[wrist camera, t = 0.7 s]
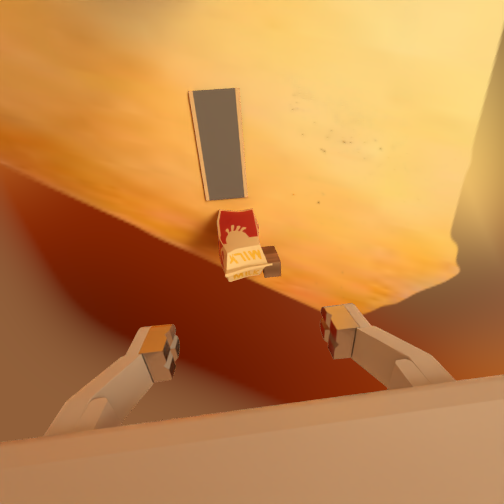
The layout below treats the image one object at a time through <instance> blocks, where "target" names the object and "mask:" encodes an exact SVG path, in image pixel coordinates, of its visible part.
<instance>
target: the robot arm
mask: <svg viewBox="0 0 504 504" xmlns="http://www.w3.org/2000/svg"><path fill="white" fill-rule="evenodd" d="M321 315H322V317H323V318H322V319H321V320H320V329H321V334H322V336H323V338H324V340H325V341H326V342H328V349H329V351H330V353H331V355H332V357H333V359H342V358H352V359H353V360H354V361H355V362H357V363H358V364H359V365H360V366H362V367H363V368H364V369H365V370H366V371H368V372H369V373H370V374H371V375H373V376H374V377H375V378H376V379H378V380H379V381H380V382H381V383H382V384H384V385H385V386H386V387H387V388H388V389H387V390H385V391H377V392H370V393H362V394H355V395H348V396H340V397H333V398H325V399H318V400H311V401H303V402H296V403H288V404H281V405H274V406H266V407H259V408H251V409H244V410H236V411H229V412H221V413H214V414H206V415H199V416H191V417H184V418H176V419H169V420H161V421H154V422H146V423H139V424H132V425H125V426H122V424H121V423H122V422H123V421H124V419H125V418H126V417H127V416H128V414H129V413H130V412H131V411H132V409H133V408H134V407H135V406H136V405H137V403H138V402H139V401H140V400H141V398H142V397H143V396H144V395H145V393H146V392H147V391H148V390H149V388H150V387H151V386H152V385H153V383H154V382H160V381H167V380H172V379H173V376H174V372H175V368H176V365H175V360H176V359H177V358H178V356H179V350H180V344H179V339H178V337H177V336H176V335H175V332H176V329H175V326H174V325H173V324H172V325H171V324H170V325H159V326H152V327H141V328H140V329H139V330H138V332H137V334H136V336H135V338H134V340H133V342H132V344H131V346H130V348H129V350H128V351H127V353H126V356H122V357H121V358H119V359H118V360H117V361H116V362H114V363H113V364H112V365H111V366H109V367H108V368H107V369H106V370H105V371H103V372H102V373H101V374H99V375H98V376H97V377H96V378H94V379H93V380H92V381H91V382H89V383H88V384H87V385H86V386H85V387H83V388H82V389H81V390H80V391H79V392H77V393H76V394H75V395H73V396H72V397H71V398H70V399H69V400H67V401H66V402H65V404H64V406H63V407H62V408H61V410H60V412H59V413H58V415H57V416H56V418H55V419H54V421H53V422H52V424H51V425H50V427H49V428H48V430H47V431H46V433H45V435H44V436H42V437H35V438H27V439H20V440H13V441H5V442H0V504H504V375H497V376H490V377H482V378H475V379H467V380H460V381H456V380H455V379H454V378H453V377H452V376H451V375H450V374H449V373H448V372H447V371H446V370H445V369H444V368H443V367H442V366H441V365H440V364H439V363H438V362H437V360H436V359H435V358H434V357H432V355H430V354H428V353H426V352H424V351H422V350H420V349H418V348H416V347H415V346H413V345H411V344H409V343H407V342H405V341H403V340H401V339H399V338H397V337H395V336H393V335H391V334H389V333H387V332H385V331H383V330H381V329H380V328H378V327H376V326H371V325H370V324H369V322H368V321H367V320H366V319H365V317H364V316H363V315H362V314H361V312H360V311H359V310H358V309H357V307H356V306H355V305H354V304H353V303H349V304H342V305H335V306H327V307H322V308H321Z"/></svg>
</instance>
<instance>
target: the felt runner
mask: <svg viewBox="0 0 504 504" xmlns="http://www.w3.org/2000/svg"><path fill="white" fill-rule="evenodd" d="M188 92H189V98H190V104H191V110H192V116H193V122H194V129H195V135H196V141H197V147H198V153H199V159H200V165H201V172H202V178H203V184H204V190H205V196H206V201H209V200H220V199H231V198H242V197H248V194H247V181H246V168H245V156H244V143H243V131H242V118H241V106H240V93H239V88H230V89H215V90H201V91H188Z"/></svg>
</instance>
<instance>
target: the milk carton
mask: <svg viewBox="0 0 504 504" xmlns="http://www.w3.org/2000/svg"><path fill="white" fill-rule="evenodd" d="M217 230H218V244H219V256H220V260H221V265H222V268H223V270H224V272H225V276H226V277H227V279H228V281H229V282H231V281H235V280H238V279H241V278H244V277H248V276H254V275H260V273H261V272H262V270H263V269H264V268H265V267H266V266H271V265H272V263H267V260H266V258H265V256H264V253H263V251H262V248H261V246H260V242H259V225H258V222H257V219H256V216H255V214H254V211H253V209H247V210H242V211H231V210H219V214H218V219H217Z"/></svg>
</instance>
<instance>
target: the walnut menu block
mask: <svg viewBox="0 0 504 504" xmlns="http://www.w3.org/2000/svg"><path fill="white" fill-rule="evenodd" d="M261 248H262V251H263V253H264V256H265V258H266V260H267V263H272V265H271V266H266V267H265V268H264V269H263V273H264V277H265V278H267V277H277V276H281V261H280V259H279V257H278V254H277V252H276V250H275V247H274V246H268V247H261Z"/></svg>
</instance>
